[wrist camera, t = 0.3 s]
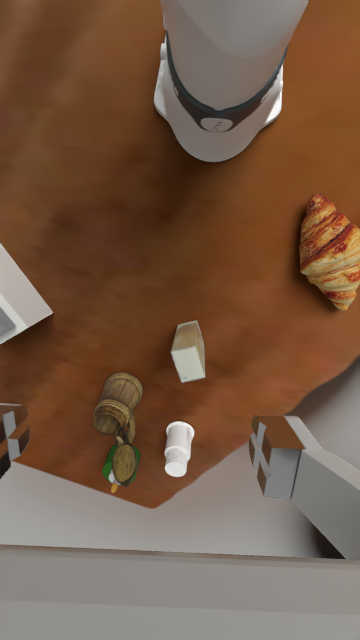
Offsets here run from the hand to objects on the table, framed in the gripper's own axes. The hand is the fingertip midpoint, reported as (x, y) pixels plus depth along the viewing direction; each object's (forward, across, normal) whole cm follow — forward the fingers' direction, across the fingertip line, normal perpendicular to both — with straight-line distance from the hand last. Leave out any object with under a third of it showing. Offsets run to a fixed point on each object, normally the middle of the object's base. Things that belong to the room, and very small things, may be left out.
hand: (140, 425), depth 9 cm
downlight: (+44, -3, +36) cm, 57 cm away
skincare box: (+40, -4, +9) cm, 42 cm away
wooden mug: (+43, +10, +26) cm, 51 cm away
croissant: (+37, -26, -8) cm, 46 cm away
